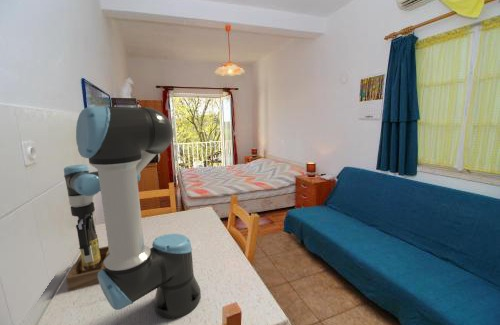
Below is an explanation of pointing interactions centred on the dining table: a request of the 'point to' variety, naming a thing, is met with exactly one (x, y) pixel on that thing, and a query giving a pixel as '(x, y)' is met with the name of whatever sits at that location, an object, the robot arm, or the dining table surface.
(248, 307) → the dining table surface
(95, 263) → the sauce bottle
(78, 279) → the caddy
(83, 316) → the dining table surface
